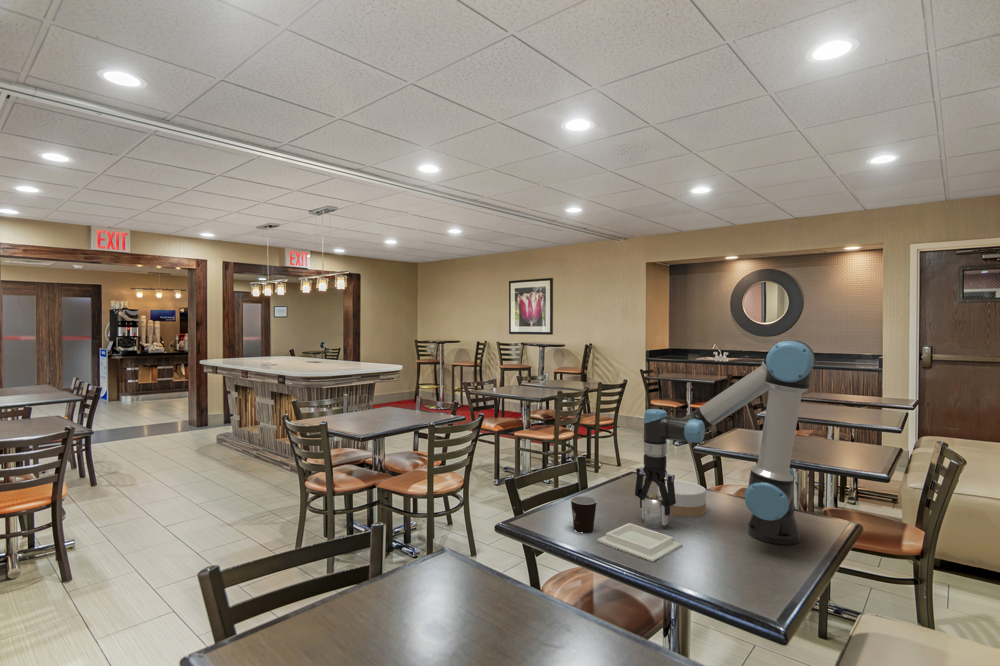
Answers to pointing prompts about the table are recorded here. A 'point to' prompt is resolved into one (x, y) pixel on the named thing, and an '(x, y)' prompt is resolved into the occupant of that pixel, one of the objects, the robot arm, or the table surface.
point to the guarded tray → (640, 541)
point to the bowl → (688, 499)
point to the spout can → (653, 511)
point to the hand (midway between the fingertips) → (654, 520)
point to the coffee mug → (583, 513)
